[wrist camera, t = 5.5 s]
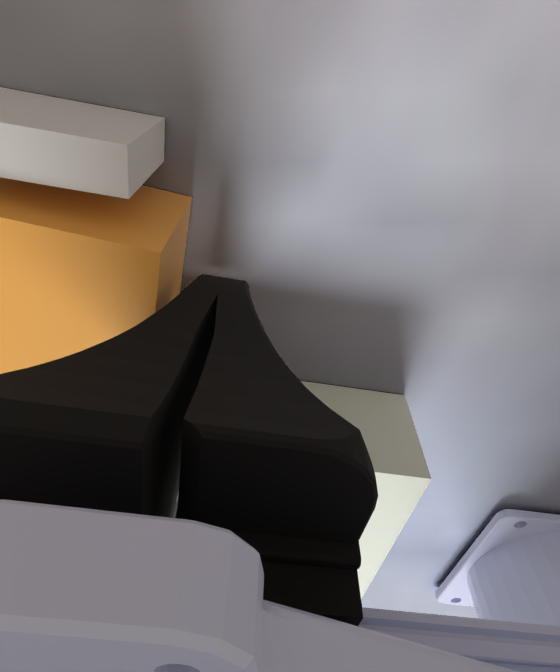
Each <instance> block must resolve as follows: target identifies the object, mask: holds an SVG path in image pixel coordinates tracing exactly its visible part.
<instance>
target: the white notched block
mask: <svg viewBox="0 0 560 672" xmlns="http://www.w3.org/2000/svg"><path fill="white" fill-rule="evenodd" d="M164 148H165V118H164V117H158V116H153V115H147V114H142V113H137V112H131V111H126V110H121V109H115V108H110V107H105V106H99V105H94V104H88V103H83V102H78V101H72V100H67V99H62V98H56V97H51V96H46V95H40V94H35V93H29V92H24V91H19V90H13V89H8V88H3V87H0V177H1V178H7V179H13V180H19V181H25V182H31V183H37V184H43V185H49V186H54V187H60V188H66V189H72V190H78V191H84V192H90V193H96V194H102V195H108V196H113V197H119V198H125V199H129V198H130V197H131V196H132V195H133V194H134V193H135V192H136V191H137V190H138V189H139V188H140V187H141V186H142V184H143V183H144V182H145V181H146V180H147V179H148V178H149V177H150V176H151V175H152V174H153V173H154V172H155V171H156V169H157V168H158V167H159V166H160V165H161V164H162V163H163V162H164ZM301 382H302V384H303V385H304V386H305V387H306V388H307V389H308V390H309V391H311V392H312V393H313V394H314V395H315V396H316V397H317V398H318V399H320V400H321V401H322V402H323V403H324V404H325V405H327V406H328V407H329V408H330V409H332V410H333V411H334V412H336V413H337V414H339V415H340V416H341V417H343V418H344V419H346V420H347V421H348V422H350V423H351V424H353V425H354V426H355V427H357V428H358V429H359V430H360V432H361V434H362V437H363V439H364V442H365V445H366V447H367V450H368V453H369V456H370V459H371V462H372V465H373V468H374V472H375V476H376V482H377V490H378V499H377V503H376V507H375V510H374V512H373V514H372V516H371V518H370V520H369V522H368V524H367V525H366V527H365V529H364V531H363V533H362V535H361V537H360V539H359V546H360V553H361V566H360V568H359V569H357V572H358V580H359V588H360V596H361V598H362V597H363V595H364V593H365V591H366V590H367V588H368V586H369V585H370V583H371V581H372V580H373V578H374V576H375V574H376V573H377V571H378V569H379V568H380V566H381V564H382V562H383V561H384V559H385V557H386V556H387V554H388V552H389V550H390V549H391V547H392V545H393V544H394V542H395V540H396V539H397V537H398V535H399V533H400V532H401V530H402V528H403V527H404V525H405V523H406V521H407V520H408V518H409V516H410V515H411V513H412V511H413V510H414V508H415V506H416V504H417V503H418V501H419V499H420V498H421V496H422V494H423V492H424V491H425V489H426V487H427V486H428V484H429V482H430V481H431V476H430V473H429V470H428V467H427V464H426V461H425V458H424V454H423V451H422V448H421V445H420V442H419V439H418V436H417V433H416V429H415V426H414V423H413V420H412V417H411V414H410V411H409V408H408V404H407V401H406V398H405V395H398V394H391V393H384V392H377V391H370V390H363V389H355V388H348V387H341V386H334V385H327V384H320V383H312V382H305V381H301ZM178 494H179V491H178ZM177 507H178V496H177V501H176V506H175V511H174V516H173V518H175V516H176V512H177Z"/></svg>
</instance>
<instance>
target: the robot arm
mask: <svg viewBox="0 0 560 672" xmlns="http://www.w3.org/2000/svg"><path fill="white" fill-rule="evenodd" d="M178 491H179V494H178ZM177 496H178V507H177V512H176V516H175V518H173V516H174V511H175V506H176V501H177ZM377 499H378V490H377V482H376V476H375V472H374V468H373V465H372V462H371V459H370V456H369V453H368V450H367V447H366V445H365V442H364V439H363V437H362V434H361V432H360V430H359V429H358V428H357V427H355V426H354V425H353V424H351V423H350V422H348V421H347V420H346V419H344V418H343V417H341V416H340V415H339V414H337V413H336V412H334V411H333V410H332V409H330V408H329V407H328V406H327V405H325V404H324V403H323V402H322V401H321V400H320V399H318V398H317V397H316V396H315V395H314V394H313V393H312V392H311V391H309V390H308V389H307V388H306V387H305V386H304V385H303V384H302V382H301V381H300V380H299V379H298V378H297V377H296V376H295V375H294V374H293V373H292V372H291V370H290V369H289V368H288V367H287V365H286V364H285V363H284V361H283V360H282V359H281V357H280V356H279V354H278V353H277V351H276V350H275V348H274V347H273V345H272V344H271V342H270V340H269V338H268V336H267V335H266V333H265V331H264V329H263V327H262V325H261V323H260V320H259V318H258V316H257V314H256V311H255V309H254V306H253V303H252V300H251V296H250V292H249V285H248V284H247V283H246V281H241V280H235V279H229V278H222V277H216V276H210V275H203V274H202V275H200V276H199V277H198V278H196V279H195V280H194V281H193V282H192V283H191V284H190V285H189V286H188V287H187V288H186V289H184V290H183V291H182V292H181V293H180V294H179V295H178V296H176V297H175V298H174V299H173V300H171V301H170V302H169V303H168V304H166V305H165V306H164V307H162V308H161V309H160V310H158V311H157V312H155V313H154V314H153V315H151V316H150V317H148V318H147V319H145V320H144V321H142V322H141V323H139V324H138V325H136V326H134V327H132V328H131V329H129V330H127V331H125V332H123V333H121V334H119V335H117V336H115V337H113V338H111V339H109V340H106V341H104V342H102V343H99V344H97V345H94V346H92V347H90V348H87V349H85V350H83V351H80V352H77V353H74V354H71V355H69V356H66V357H63V358H60V359H56V360H53V361H50V362H46V363H43V364H40V365H36V366H32V367H29V368H24V369H20V370H16V371H11V372H7V373H2V374H0V672H560V515H558V514H549V513H541V512H532V511H524V510H516V509H504V510H501V511H499V512H497V513H496V514H495V516H494V517H493V518H492V520H491V521H490V522H489V523H488V525H487V526H486V527H485V529H484V530H483V531H482V532H481V534H480V535H479V536H478V538H477V539H476V540H475V541H474V543H473V544H472V545H471V547H470V548H469V549H468V550H467V552H466V553H465V554H464V556H463V557H462V558H461V559H460V561H459V562H458V563H457V565H456V566H455V567H454V568H453V570H452V571H451V572H450V574H449V575H448V576H447V577H446V579H445V580H444V581H443V583H442V584H441V585H440V586H439V588H438V589H437V590H436V592H435V595H436V599H437V601H438V602H440V603H443V604H453V605H463V606H474V607H475V610H476V613H477V616H478V619H477V618H467V617H457V616H446V615H436V614H425V613H415V612H404V611H394V610H384V609H373V608H363V607H362V603H361V596H360V588H359V580H358V572H357V569H359V568H360V566H361V553H360V546H359V539H360V537H361V535H362V533H363V531H364V529H365V527H366V525H367V524H368V522H369V520H370V518H371V516H372V514H373V512H374V510H375V507H376V503H377Z"/></svg>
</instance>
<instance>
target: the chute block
mask: <svg viewBox="0 0 560 672" xmlns="http://www.w3.org/2000/svg"><path fill="white" fill-rule="evenodd" d="M191 204H192V197H190V196H186V195H181V194H177V193H173V192H169V191H165V190H161V189H156V188H152V187H148V186H144V185H142V186H141V187H140V188H139V189H138V190H137V191H136V192H135V193H134V194H133V195H132V196H131V197H130V198H129V199H125V198H119V197H113V196H108V195H102V194H96V193H90V192H84V191H78V190H72V189H66V188H60V187H54V186H49V185H43V184H37V183H31V182H25V181H19V180H13V179H7V178H1V177H0V374H2V373H7V372H11V371H16V370H20V369H24V368H29V367H32V366H36V365H40V364H43V363H46V362H50V361H53V360H56V359H60V358H63V357H66V356H69V355H71V354H74V353H77V352H80V351H83V350H85V349H87V348H90V347H92V346H94V345H97V344H99V343H102V342H104V341H106V340H109V339H111V338H113V337H115V336H117V335H119V334H121V333H123V332H125V331H127V330H129V329H131V328H132V327H134V326H136V325H138V324H139V323H141V322H142V321H144V320H145V319H147V318H148V317H150V316H151V315H153V314H154V313H155V312H157V311H158V310H160V309H161V308H162V307H164V306H165V305H166V304H168V303H169V302H170V301H171V300H173V299H174V298H175V297H176V296H178V295H179V294H180V291H181V283H182V275H183V267H184V259H185V251H186V243H187V235H188V227H189V219H190V211H191Z"/></svg>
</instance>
